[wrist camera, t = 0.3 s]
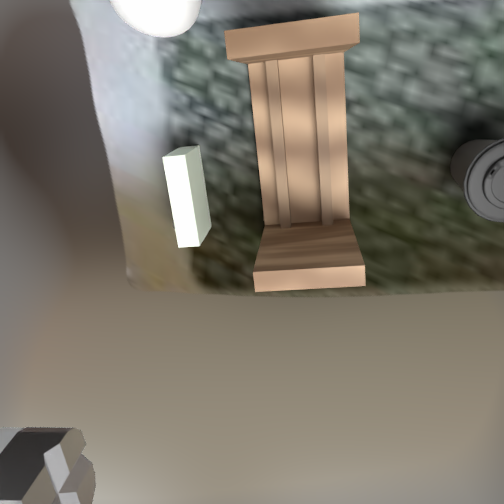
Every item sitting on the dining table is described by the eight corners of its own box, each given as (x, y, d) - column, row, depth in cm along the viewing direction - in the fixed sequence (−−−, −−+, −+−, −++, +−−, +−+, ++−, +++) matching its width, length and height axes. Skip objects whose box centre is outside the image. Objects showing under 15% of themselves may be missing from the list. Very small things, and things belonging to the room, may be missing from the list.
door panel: (172, 147, 53) (154, 157, 46) (199, 145, 52) (184, 154, 46) (186, 228, 56) (171, 247, 50) (211, 226, 56) (199, 246, 49)
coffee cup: (440, 128, 49) (472, 140, 40) (519, 123, 48) (571, 135, 39) (434, 200, 52) (463, 227, 43) (508, 197, 51) (554, 224, 42)
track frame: (246, 44, 48) (224, 30, 34) (342, 31, 46) (358, 12, 33) (267, 238, 56) (255, 291, 42) (349, 232, 54) (365, 285, 40)
